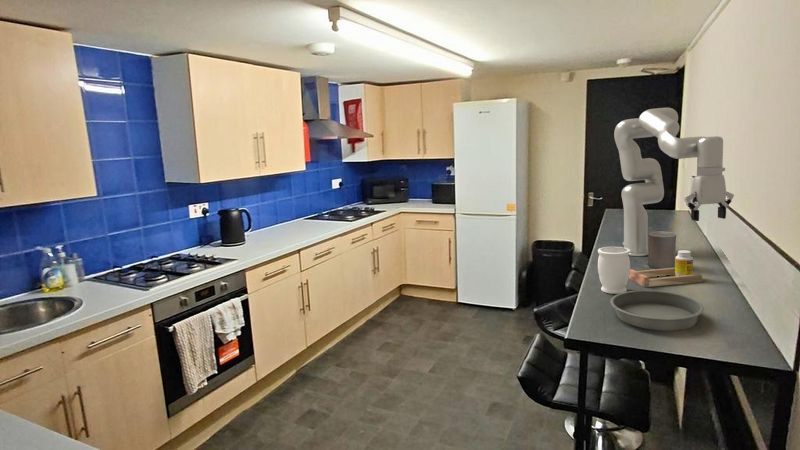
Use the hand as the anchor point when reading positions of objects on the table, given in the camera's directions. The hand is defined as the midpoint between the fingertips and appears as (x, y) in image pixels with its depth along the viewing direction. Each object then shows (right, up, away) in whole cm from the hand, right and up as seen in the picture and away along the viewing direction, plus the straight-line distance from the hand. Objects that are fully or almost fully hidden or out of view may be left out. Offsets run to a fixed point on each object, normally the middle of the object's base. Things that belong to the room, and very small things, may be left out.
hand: (708, 219), depth 166 cm
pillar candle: (-5, -19, +21) cm, 29 cm away
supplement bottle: (-6, -22, +5) cm, 23 cm away
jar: (-35, -26, -2) cm, 43 cm away
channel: (-13, -22, +5) cm, 27 cm away
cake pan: (-34, -30, -26) cm, 52 cm away
